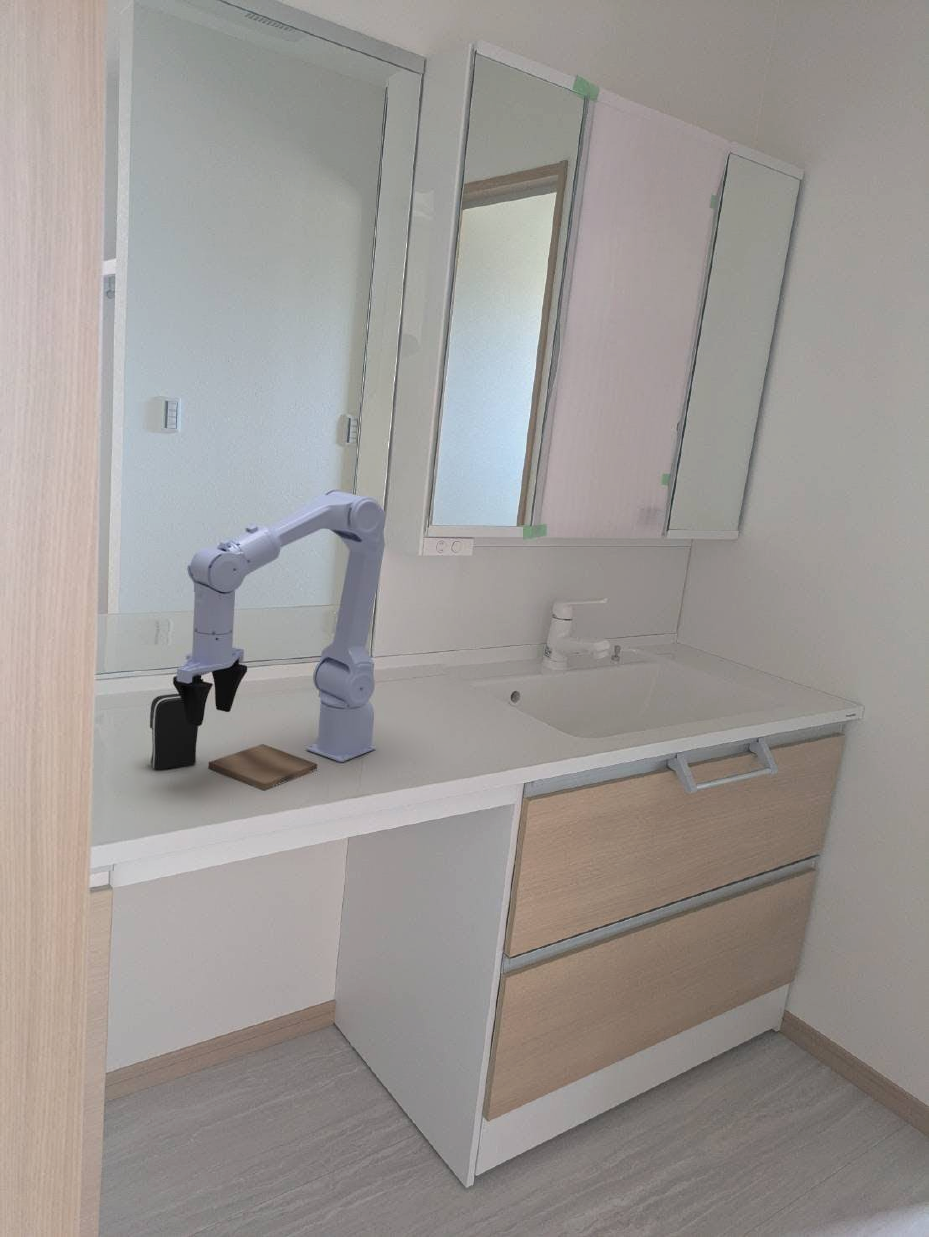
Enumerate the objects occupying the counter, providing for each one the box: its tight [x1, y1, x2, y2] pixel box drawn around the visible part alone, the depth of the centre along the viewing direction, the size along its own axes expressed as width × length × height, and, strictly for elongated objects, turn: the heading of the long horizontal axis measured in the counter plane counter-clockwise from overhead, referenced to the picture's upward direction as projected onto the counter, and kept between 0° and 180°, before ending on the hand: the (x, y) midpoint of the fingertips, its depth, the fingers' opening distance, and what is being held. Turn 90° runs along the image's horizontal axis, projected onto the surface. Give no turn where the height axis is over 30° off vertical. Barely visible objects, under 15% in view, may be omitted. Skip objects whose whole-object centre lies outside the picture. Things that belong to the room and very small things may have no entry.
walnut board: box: [208, 744, 318, 790], centre depth 158 cm, size 12×12×1 cm
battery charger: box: [149, 693, 199, 770], centre depth 155 cm, size 7×4×11 cm, turn 127°
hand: (209, 717), depth 149 cm, fingers open, 7 cm apart
